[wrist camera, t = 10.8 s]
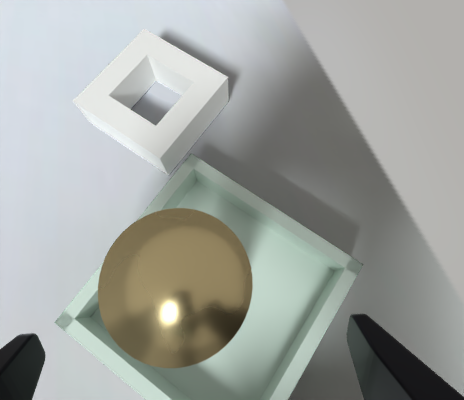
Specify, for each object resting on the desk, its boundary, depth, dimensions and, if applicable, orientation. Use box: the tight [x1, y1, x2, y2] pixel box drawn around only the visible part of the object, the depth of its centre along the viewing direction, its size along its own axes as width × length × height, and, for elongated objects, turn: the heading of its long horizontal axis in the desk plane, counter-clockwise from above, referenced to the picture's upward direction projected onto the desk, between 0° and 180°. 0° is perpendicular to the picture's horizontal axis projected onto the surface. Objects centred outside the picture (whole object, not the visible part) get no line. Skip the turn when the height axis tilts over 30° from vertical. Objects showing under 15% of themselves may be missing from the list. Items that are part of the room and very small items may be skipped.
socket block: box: [73, 29, 229, 176], centre depth 24 cm, size 8×8×3 cm
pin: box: [98, 208, 253, 368], centre depth 14 cm, size 4×4×14 cm
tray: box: [54, 154, 363, 400], centre depth 20 cm, size 13×13×3 cm
